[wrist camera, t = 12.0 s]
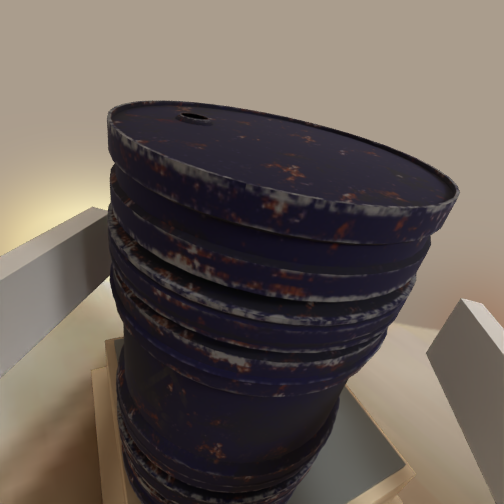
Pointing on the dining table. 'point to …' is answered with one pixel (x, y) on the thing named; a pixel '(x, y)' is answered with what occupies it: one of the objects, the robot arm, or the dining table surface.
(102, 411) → the plinth
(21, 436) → the dining table surface
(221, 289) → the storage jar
